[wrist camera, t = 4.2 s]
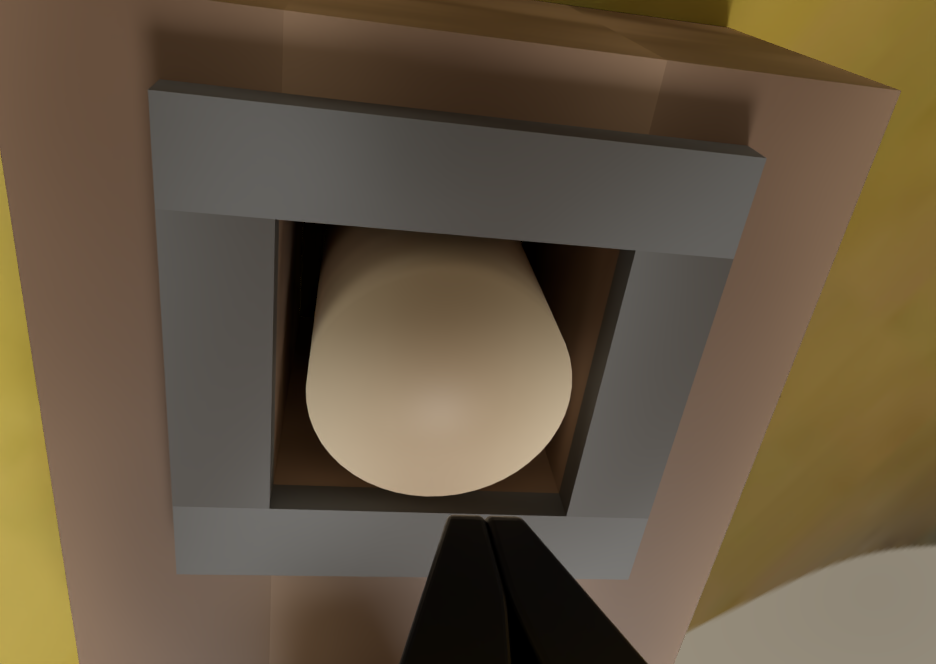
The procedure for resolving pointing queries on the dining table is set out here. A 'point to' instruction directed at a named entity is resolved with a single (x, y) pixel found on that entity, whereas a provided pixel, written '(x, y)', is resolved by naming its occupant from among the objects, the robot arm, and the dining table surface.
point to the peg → (433, 359)
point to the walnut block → (410, 209)
